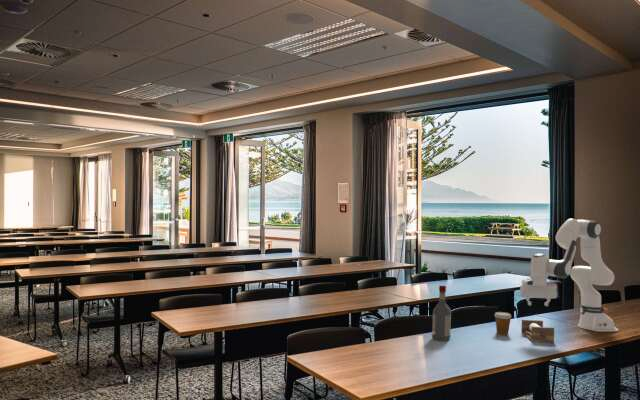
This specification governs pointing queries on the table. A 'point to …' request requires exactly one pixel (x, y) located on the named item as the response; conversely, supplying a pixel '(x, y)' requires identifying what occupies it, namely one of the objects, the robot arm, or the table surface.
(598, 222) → the robot arm
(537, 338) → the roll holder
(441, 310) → the liquor
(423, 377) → the table surface
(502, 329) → the disposable coffee cup
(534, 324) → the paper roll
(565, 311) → the table surface
